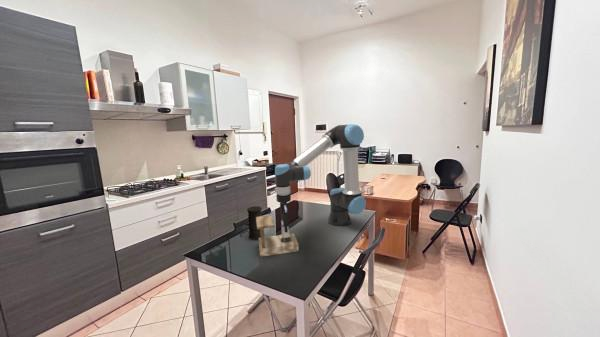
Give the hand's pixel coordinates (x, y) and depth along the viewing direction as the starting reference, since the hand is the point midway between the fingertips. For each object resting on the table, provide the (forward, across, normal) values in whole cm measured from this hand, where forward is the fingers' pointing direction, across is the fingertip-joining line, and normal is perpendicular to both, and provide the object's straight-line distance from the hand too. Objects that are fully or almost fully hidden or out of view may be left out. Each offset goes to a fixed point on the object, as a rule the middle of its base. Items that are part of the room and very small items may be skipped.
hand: (285, 235), depth 133 cm
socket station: (+7, 0, -4) cm, 8 cm away
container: (+7, -18, -15) cm, 25 cm away
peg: (+4, 0, 0) cm, 4 cm away
